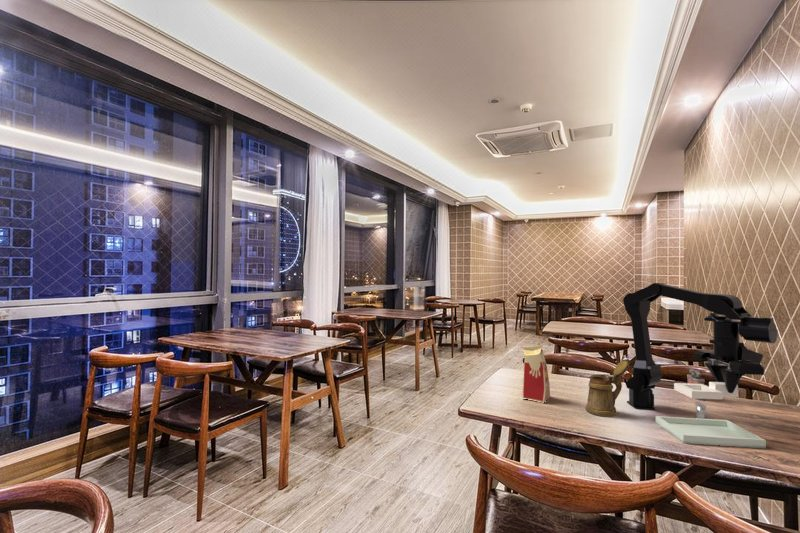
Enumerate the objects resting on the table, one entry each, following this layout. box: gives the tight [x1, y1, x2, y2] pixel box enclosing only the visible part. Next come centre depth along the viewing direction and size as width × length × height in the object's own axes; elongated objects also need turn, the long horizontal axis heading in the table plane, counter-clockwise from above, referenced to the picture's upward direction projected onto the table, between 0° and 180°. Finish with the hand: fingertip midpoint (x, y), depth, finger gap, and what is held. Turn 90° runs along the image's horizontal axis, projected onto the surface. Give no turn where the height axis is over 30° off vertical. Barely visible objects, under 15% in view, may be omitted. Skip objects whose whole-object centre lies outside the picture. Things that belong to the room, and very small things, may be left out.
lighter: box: [686, 368, 706, 402], centre depth 138 cm, size 8×3×10 cm, turn 168°
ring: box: [673, 381, 739, 400], centre depth 107 cm, size 14×8×4 cm, turn 83°
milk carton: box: [521, 344, 551, 404], centre depth 136 cm, size 9×9×20 cm
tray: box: [655, 415, 767, 450], centre depth 105 cm, size 20×14×2 cm
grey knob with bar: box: [694, 401, 707, 419], centre depth 116 cm, size 2×3×5 cm
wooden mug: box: [585, 358, 631, 418], centre depth 122 cm, size 9×14×18 cm, turn 81°
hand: (726, 391), depth 107 cm, fingers closed on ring, 2 cm apart
